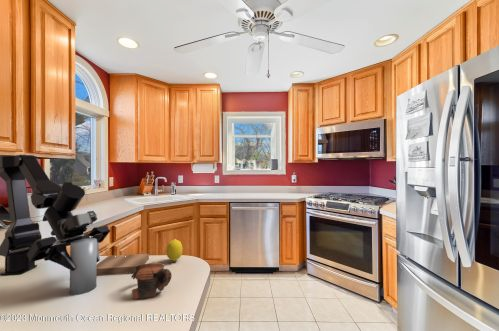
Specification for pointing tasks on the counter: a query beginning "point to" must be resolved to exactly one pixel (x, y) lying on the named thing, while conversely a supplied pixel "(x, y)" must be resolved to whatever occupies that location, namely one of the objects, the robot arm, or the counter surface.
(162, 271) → the pottery mug
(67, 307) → the counter surface
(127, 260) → the shelf board
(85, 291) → the grey cylinder
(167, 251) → the lemon
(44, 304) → the counter surface
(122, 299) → the counter surface
